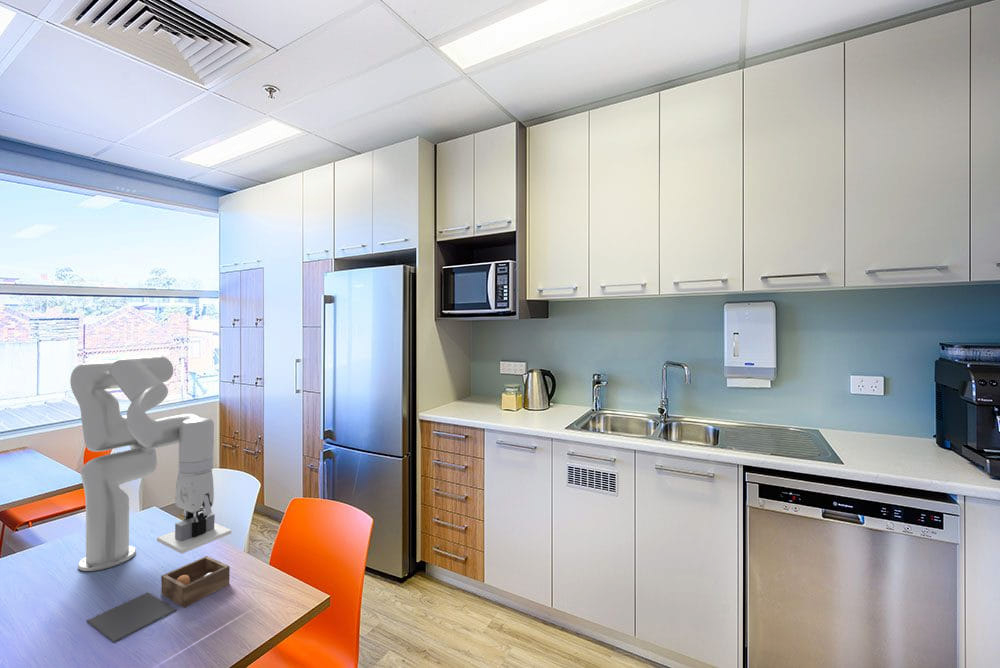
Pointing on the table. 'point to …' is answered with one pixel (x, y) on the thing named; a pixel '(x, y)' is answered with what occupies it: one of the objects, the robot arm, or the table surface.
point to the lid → (183, 535)
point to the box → (195, 581)
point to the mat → (130, 616)
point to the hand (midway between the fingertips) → (195, 532)
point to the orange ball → (184, 579)
